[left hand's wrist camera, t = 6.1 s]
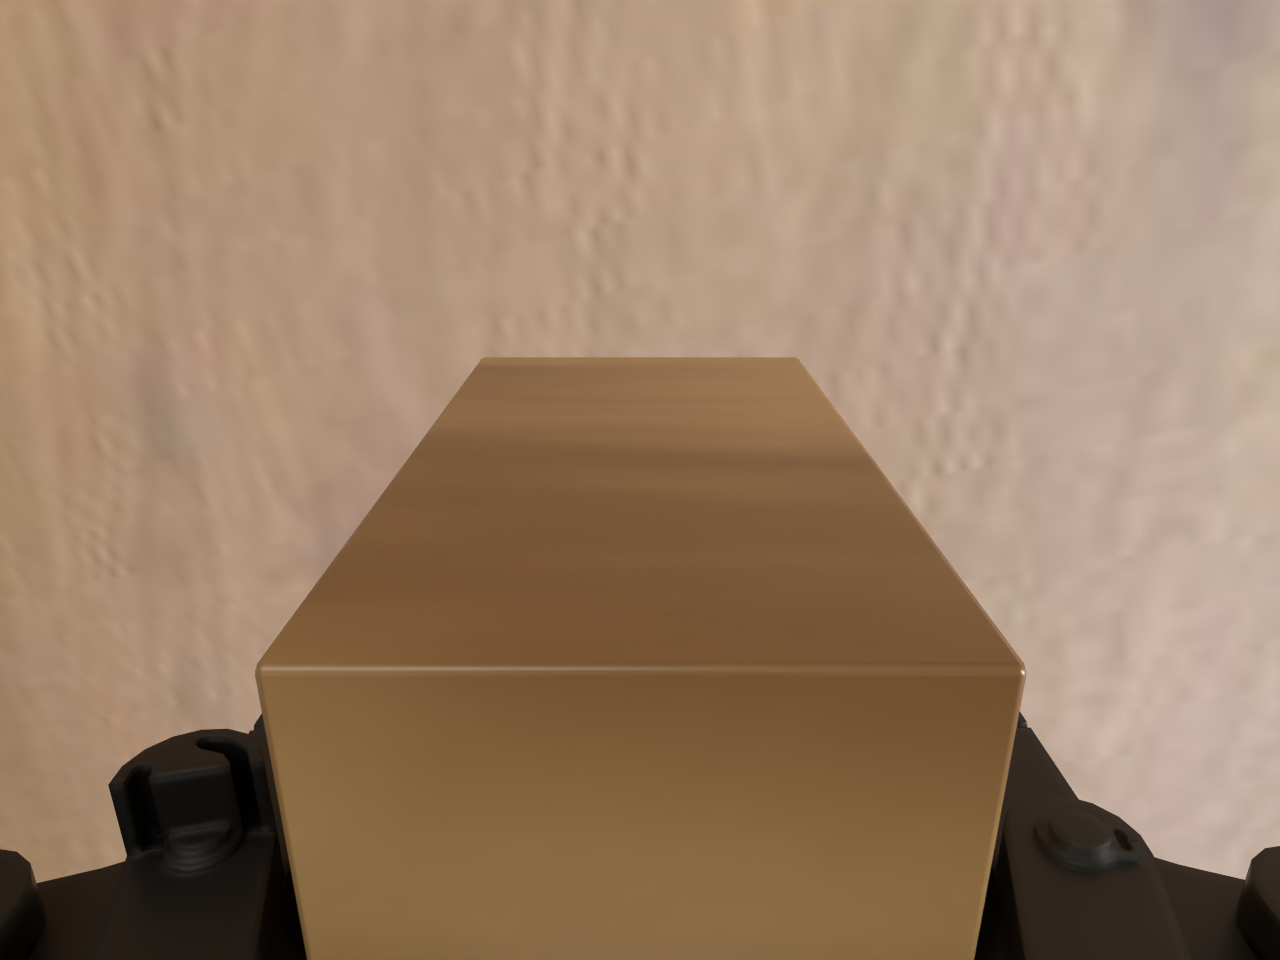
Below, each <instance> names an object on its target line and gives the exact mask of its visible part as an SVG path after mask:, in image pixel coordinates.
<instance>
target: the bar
mask: <svg viewBox="0 0 1280 960" xmlns="http://www.w3.org/2000/svg"><path fill="white" fill-rule="evenodd" d="M255 676H256V682H257V687H258V693H259V698H260V704H261V709H262V715H263V720H264V726H265V731H266V737H267V742H268V748H269V753H270V759H271V764H272V770H273V775H274V781H275V786H276V792H277V797H278V803H279V808H280V814H281V819H282V825H283V830H284V836H285V841H286V847H287V852H288V858H289V863H290V869H291V874H292V880H293V885H294V891H295V896H296V902H297V907H298V913H299V918H300V923H301V929H302V934H303V940H304V945H305V951H306V956H307V960H974V957H975V952H976V946H977V941H978V935H979V930H980V924H981V919H982V914H983V908H984V903H985V897H986V892H987V886H988V881H989V875H990V870H991V864H992V859H993V853H994V848H995V842H996V837H997V831H998V826H999V821H1000V815H1001V810H1002V804H1003V799H1004V793H1005V788H1006V782H1007V777H1008V771H1009V766H1010V760H1011V755H1012V749H1013V744H1014V739H1015V733H1016V728H1017V722H1018V717H1019V711H1020V706H1021V700H1022V695H1023V689H1024V684H1025V678H1026V669H1025V666H1024V663H1023V662H1022V660H1021V659H1020V658H1019V656H1018V655H1017V654H1016V652H1015V651H1014V650H1013V648H1012V647H1011V646H1010V644H1009V643H1008V641H1007V640H1006V639H1005V637H1004V636H1003V635H1002V633H1001V632H1000V631H999V629H998V628H997V627H996V625H995V624H994V623H993V621H992V620H991V618H990V617H989V616H988V614H987V613H986V612H985V610H984V609H983V608H982V606H981V605H980V604H979V602H978V601H977V600H976V598H975V597H974V595H973V594H972V593H971V591H970V590H969V589H968V587H967V586H966V585H965V583H964V582H963V581H962V579H961V578H960V577H959V575H958V574H957V572H956V571H955V570H954V568H953V567H952V566H951V564H950V563H949V562H948V560H947V559H946V558H945V556H944V555H943V554H942V552H941V551H940V549H939V548H938V547H937V545H936V544H935V543H934V541H933V540H932V539H931V537H930V536H929V535H928V533H927V532H926V531H925V529H924V528H923V526H922V525H921V524H920V522H919V521H918V520H917V518H916V517H915V516H914V514H913V513H912V512H911V510H910V509H909V508H908V506H907V505H906V504H905V502H904V501H903V499H902V498H901V497H900V495H899V494H898V493H897V491H896V490H895V489H894V487H893V486H892V485H891V483H890V482H889V481H888V479H887V478H886V476H885V475H884V474H883V472H882V471H881V470H880V468H879V467H878V466H877V464H876V463H875V462H874V460H873V459H872V458H871V456H870V455H869V453H868V452H867V451H866V449H865V448H864V447H863V445H862V444H861V443H860V441H859V440H858V439H857V437H856V436H855V435H854V433H853V432H852V430H851V429H850V428H849V426H848V425H847V424H846V422H845V421H844V420H843V418H842V417H841V416H840V414H839V413H838V412H837V410H836V409H835V407H834V406H833V405H832V403H831V402H830V401H829V399H828V398H827V397H826V395H825V394H824V393H823V391H822V390H821V389H820V387H819V386H818V384H817V383H816V382H815V380H814V379H813V378H812V376H811V375H810V374H809V372H808V371H807V370H806V368H805V367H804V366H803V364H802V363H801V361H800V360H799V359H797V358H483V359H481V361H480V362H479V363H478V365H477V366H476V368H475V369H474V370H473V372H472V373H471V374H470V376H469V377H468V378H467V380H466V381H465V382H464V384H463V385H462V387H461V388H460V389H459V391H458V392H457V393H456V395H455V396H454V397H453V399H452V400H451V401H450V403H449V404H448V406H447V407H446V408H445V410H444V411H443V412H442V414H441V415H440V416H439V418H438V419H437V420H436V422H435V423H434V425H433V426H432V427H431V429H430V430H429V431H428V433H427V434H426V435H425V437H424V438H423V440H422V441H421V442H420V444H419V445H418V446H417V448H416V449H415V450H414V452H413V453H412V454H411V456H410V457H409V459H408V460H407V461H406V463H405V464H404V465H403V467H402V468H401V469H400V471H399V472H398V473H397V475H396V476H395V478H394V479H393V480H392V482H391V483H390V484H389V486H388V487H387V488H386V490H385V491H384V492H383V494H382V495H381V497H380V498H379V499H378V501H377V502H376V503H375V505H374V506H373V507H372V509H371V510H370V511H369V513H368V514H367V516H366V517H365V518H364V520H363V521H362V522H361V524H360V525H359V526H358V528H357V529H356V531H355V532H354V533H353V535H352V536H351V537H350V539H349V540H348V541H347V543H346V544H345V545H344V547H343V548H342V550H341V551H340V552H339V554H338V555H337V556H336V558H335V559H334V560H333V562H332V563H331V564H330V566H329V567H328V569H327V570H326V571H325V573H324V574H323V575H322V577H321V578H320V579H319V581H318V582H317V583H316V585H315V586H314V588H313V589H312V590H311V592H310V593H309V594H308V596H307V597H306V598H305V600H304V601H303V602H302V604H301V605H300V607H299V608H298V609H297V611H296V612H295V613H294V615H293V616H292V617H291V619H290V620H289V622H288V623H287V624H286V626H285V627H284V628H283V630H282V631H281V632H280V634H279V635H278V636H277V638H276V639H275V641H274V642H273V643H272V645H271V646H270V647H269V649H268V650H267V651H266V653H265V654H264V655H263V657H262V658H261V660H260V661H259V662H258V664H257V667H256V670H255Z"/></svg>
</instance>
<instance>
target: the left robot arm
mask: <svg viewBox="0 0 1280 960" xmlns="http://www.w3.org/2000/svg"><path fill="white" fill-rule="evenodd" d="M109 789H110V793H111V797H112V800H113V804H114V808H115V812H116V815H117V819H118V823H119V827H120V830H121V834H122V838H123V842H124V846H125V849H126V853H127V858H126V860H125V861H124V862H121V863H118V864H114V865H111V866H108V867H104V868H101V869H97V870H92V871H88V872H84V873H79V874H75V875H71V876H66V877H62V878H58V879H53V880H49V881H45V882H40V883H36V880H35V877H34V874H33V870H32V867H31V864H30V863H29V862H28V861H27V860H26V859H25V858H24V857H22V856H21V855H20V854H19V853H18V852H14V851H8V850H1V849H0V960H307V956H306V951H305V945H304V940H303V934H302V929H301V923H300V918H299V913H298V907H297V902H296V896H295V891H294V885H293V880H292V874H291V869H290V863H289V858H288V852H287V847H286V841H285V836H284V830H283V825H282V819H281V814H280V808H279V803H278V797H277V792H276V786H275V781H274V775H273V770H272V764H271V759H270V753H269V748H268V742H267V737H266V731H265V726H264V720H263V715H262V714H261V716H260V717H259V719H258V720H257V722H256V723H255V725H254V731H250V732H249V734H246V733H242V732H238V731H234V730H230V729H211V730H199V731H195V732H191V733H187V734H183V735H178V736H174V737H171V738H169V739H167V740H165V741H163V742H160V743H158V744H156V745H154V746H152V747H149V748H147V749H145V750H144V751H142V752H141V753H139V754H138V755H137V756H135V757H134V758H133V759H131V760H130V761H129V762H127V763H126V764H125V765H123V766H122V767H121V769H120V770H119V771H118V773H117V774H116V775H115V777H114V778H113V779H112V781H111V782H110V783H109ZM974 960H1280V846H1278V847H1271V848H1265V849H1264V850H1263V851H1261V852H1260V853H1259V854H1258V855H1257V856H1255V857H1254V858H1253V859H1252V860H1251V863H1250V867H1249V870H1248V873H1247V876H1246V879H1245V880H1243V879H1238V878H1234V877H1230V876H1225V875H1221V874H1217V873H1212V872H1208V871H1204V870H1199V869H1195V868H1191V867H1186V866H1182V865H1178V864H1175V863H1172V862H1168V861H1165V860H1162V859H1158V858H1155V857H1154V856H1153V854H1152V853H1151V851H1150V849H1149V848H1148V846H1147V845H1146V843H1145V842H1144V840H1143V838H1142V837H1141V835H1140V834H1139V833H1137V832H1136V831H1135V830H1134V829H1133V828H1131V827H1130V826H1129V825H1128V824H1127V823H1125V822H1124V821H1123V820H1122V819H1121V818H1119V817H1118V816H1116V815H1114V814H1112V813H1110V812H1108V811H1106V810H1104V809H1102V808H1100V807H1098V806H1096V805H1094V804H1093V803H1089V802H1085V801H1082V800H1079V799H1078V798H1077V796H1076V795H1075V793H1074V792H1073V790H1072V789H1071V787H1070V786H1069V784H1068V783H1067V781H1066V780H1065V778H1064V777H1063V776H1062V774H1061V773H1060V771H1059V770H1058V768H1057V767H1056V765H1055V764H1054V762H1053V761H1052V759H1051V758H1050V756H1049V755H1048V753H1047V752H1046V750H1045V749H1044V747H1043V746H1042V744H1041V743H1040V741H1039V740H1038V738H1037V737H1036V735H1035V734H1034V732H1033V731H1032V729H1031V728H1028V727H1027V722H1026V720H1025V719H1024V717H1023V716H1022V714H1021V713H1020V711H1019V717H1018V722H1017V728H1016V733H1015V739H1014V744H1013V749H1012V755H1011V760H1010V766H1009V771H1008V777H1007V782H1006V788H1005V793H1004V799H1003V804H1002V810H1001V815H1000V821H999V826H998V831H997V837H996V842H995V848H994V853H993V859H992V864H991V870H990V875H989V881H988V886H987V892H986V897H985V903H984V908H983V914H982V919H981V924H980V930H979V935H978V941H977V946H976V952H975V957H974Z"/></svg>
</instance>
